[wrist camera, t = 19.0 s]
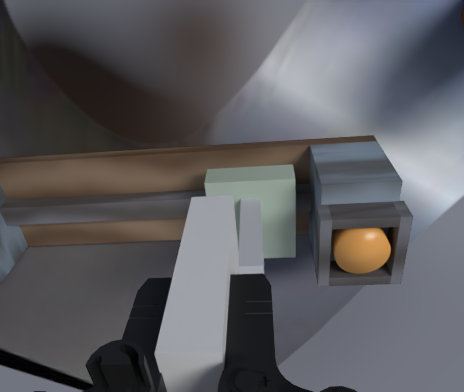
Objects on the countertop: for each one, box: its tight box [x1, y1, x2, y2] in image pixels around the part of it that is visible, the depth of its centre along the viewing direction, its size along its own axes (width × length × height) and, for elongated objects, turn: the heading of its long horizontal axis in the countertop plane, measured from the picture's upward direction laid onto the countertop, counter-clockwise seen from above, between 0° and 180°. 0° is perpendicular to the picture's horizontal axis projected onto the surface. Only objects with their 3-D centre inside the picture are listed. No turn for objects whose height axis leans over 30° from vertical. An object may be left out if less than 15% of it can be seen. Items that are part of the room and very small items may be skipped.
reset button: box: [331, 227, 391, 274], centre depth 38 cm, size 5×5×2 cm
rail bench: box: [0, 136, 413, 286], centre depth 44 cm, size 12×50×12 cm, turn 95°
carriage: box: [204, 164, 296, 274], centre depth 40 cm, size 10×9×15 cm
